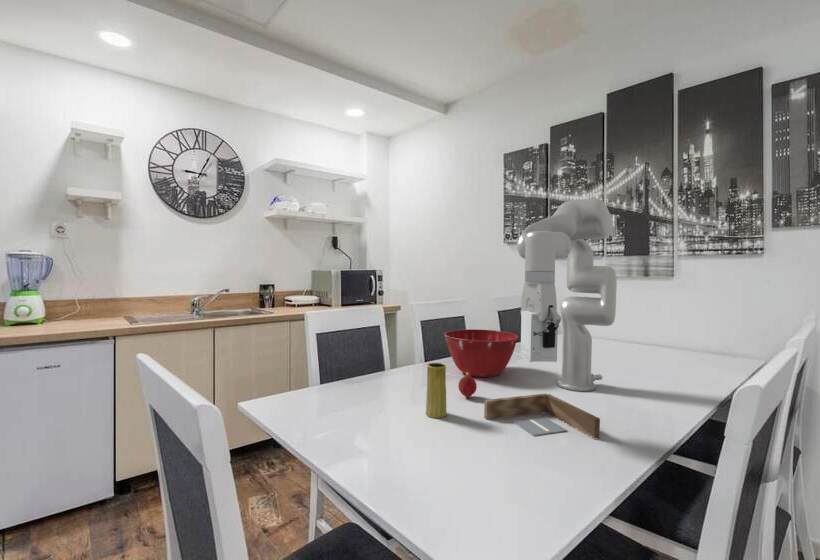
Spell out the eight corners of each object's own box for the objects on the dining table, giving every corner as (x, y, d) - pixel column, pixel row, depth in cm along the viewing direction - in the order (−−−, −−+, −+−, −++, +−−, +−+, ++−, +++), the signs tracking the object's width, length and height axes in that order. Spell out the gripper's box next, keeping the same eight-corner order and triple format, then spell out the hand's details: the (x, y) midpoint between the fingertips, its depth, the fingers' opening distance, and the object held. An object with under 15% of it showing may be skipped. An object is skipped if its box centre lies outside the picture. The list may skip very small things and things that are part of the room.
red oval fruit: (476, 401, 130) (476, 375, 129) (457, 399, 131) (457, 374, 130) (476, 395, 135) (477, 371, 135) (459, 394, 136) (459, 370, 136)
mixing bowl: (465, 361, 183) (465, 326, 182) (528, 371, 166) (529, 332, 166) (430, 374, 160) (430, 335, 159) (499, 388, 143) (500, 343, 143)
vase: (432, 419, 114) (432, 368, 113) (421, 412, 119) (421, 363, 119) (451, 416, 117) (451, 366, 116) (439, 409, 122) (440, 361, 122)
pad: (543, 417, 116) (543, 416, 116) (567, 431, 106) (567, 430, 106) (512, 421, 113) (512, 420, 113) (533, 436, 103) (533, 434, 103)
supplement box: (529, 362, 105) (530, 313, 105) (520, 356, 113) (520, 310, 112) (558, 362, 106) (558, 313, 105) (546, 355, 113) (547, 309, 113)
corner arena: (547, 410, 122) (547, 393, 122) (599, 438, 102) (599, 418, 102) (484, 417, 116) (484, 400, 115) (526, 449, 96) (526, 428, 96)
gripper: (509, 277, 116) (509, 339, 116) (547, 279, 99) (546, 352, 100) (533, 277, 118) (532, 337, 119) (573, 279, 101) (572, 350, 102)
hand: (538, 344), depth 109 cm, fingers closed on supplement box, 8 cm apart
